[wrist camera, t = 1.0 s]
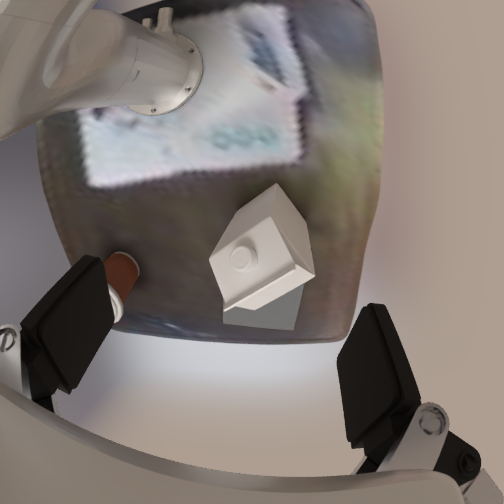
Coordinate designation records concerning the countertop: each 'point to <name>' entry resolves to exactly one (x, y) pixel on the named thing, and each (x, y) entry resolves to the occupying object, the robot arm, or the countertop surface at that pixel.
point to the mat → (268, 312)
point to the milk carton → (262, 252)
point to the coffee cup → (120, 279)
